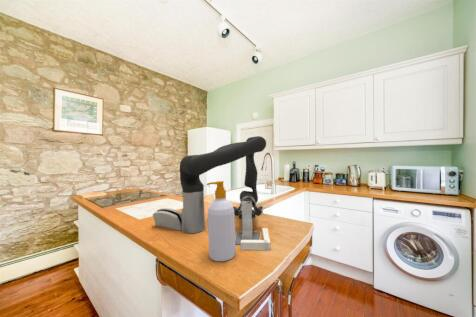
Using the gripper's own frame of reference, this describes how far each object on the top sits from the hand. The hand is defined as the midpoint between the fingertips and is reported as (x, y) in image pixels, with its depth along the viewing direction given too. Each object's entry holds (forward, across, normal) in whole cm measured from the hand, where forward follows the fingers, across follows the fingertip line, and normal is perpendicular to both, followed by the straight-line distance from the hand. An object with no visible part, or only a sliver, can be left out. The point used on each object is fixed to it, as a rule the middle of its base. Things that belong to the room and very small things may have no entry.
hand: (246, 216), depth 69 cm
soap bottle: (+13, -8, +8) cm, 17 cm away
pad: (0, 0, +8) cm, 8 cm away
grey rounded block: (-11, -37, +8) cm, 39 cm away
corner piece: (+3, +3, +8) cm, 9 cm away
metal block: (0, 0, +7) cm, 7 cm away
